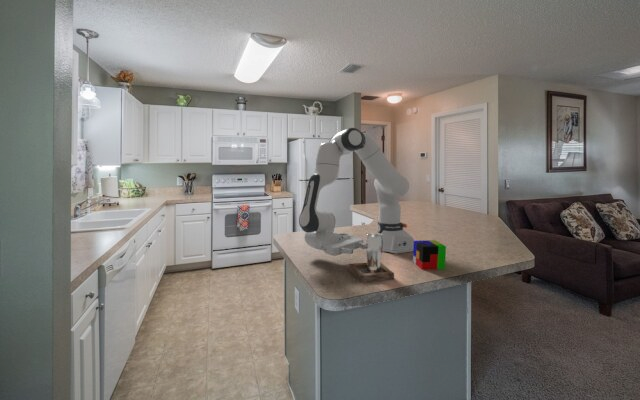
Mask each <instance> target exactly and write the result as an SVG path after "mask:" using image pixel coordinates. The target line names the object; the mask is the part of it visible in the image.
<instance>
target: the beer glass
mask: <svg viewBox="0 0 640 400" xmlns="http://www.w3.org/2000/svg"><path fill="white" fill-rule="evenodd" d="M365 245H366V249H365V254H366V255H365V257H366V263H367V267H366V272H368V273H378V272H381V268H380V262H381V260H382V255H383V252H384V251H383V235H380V234H378V233H367V234H366V235H365Z"/></svg>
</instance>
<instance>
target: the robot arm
mask: <svg viewBox="0 0 640 400" xmlns="http://www.w3.org/2000/svg"><path fill="white" fill-rule="evenodd" d="M353 152H354V153H355V154H356V155H357V156H358V158H359V159H360V161H361V162H362V164H363V165H364V167H365V168H366V170H367V172H368V173H369V174H370V175H372V176H373V177H374V178H375V179H374V181H373V185H374V186H373V187H374V188H375V191H376V197H377V198H376V199H377V203H378V221H377V225H376V227H377V228H376V229H377V234H380V235H383V251H382V252H384V253H392V254H403V253H408V252H409V253H410V252H413V248H414V241H415V239H414V237H413V236H412V235H411V234H410V233H408V231H406V230H405V229H407V227H408V224H407V223H403V222H401V213H402V208H401V204H400V203H399V199H398V197H402V196H405V195H406V194H407V193H408V191H409V189H410V182H409V180H408V179H407V178H406V177H405V176H404V175H402V174H401V173H400V171H399V170H398V169H397V168H396V167H395V166H394V165H393V164H392V163H391V162H390V161H389V159H388V158H387V157H386V155H385V153H384V152H383V150H382V149H381V147H380V145H379V144H378V142H377V141H376V140H375V139H374V138H373V136H372V135H370V134H369V133H368V132H362V131H360V130H359V129H358V128H356V127H348V128H346V129H343V130H340V131H339V132H337V133H336V134H334V135H333V136H332V137H330V139H329V140H328V141H325V142H323V143H321V144H320V145H319V147H318V150H317V154H316V160H315V161H316V162H315V168H314V169H315V170H314V172H313V174H312V175H311V176H310V178H309V179H308V182H307V187H306V192H305V194H304V195H305V197H304V200H303V206H302V209H301V212H300V214H299V217H298V222H299V223H298V224H299V226H300V228H301V229H302V231H304V241H305V243H306V244H307V245H308V246H309V247H310V248H314V249H316V250H319V251H323V252H324V253H325V254H327V255H329V256H333V257H336V256H339V255H342V254H343V255H345V254H348V255H353V254H354V251H355V250H357V249H361V250H366V243H365V244H364V239H363V238H361V237H358V236H355V235H349V233H337V232H334V231H335V227H336V217H335V215H334V213H333V212H331V211H327V210H317V205H318V201H319V196H320V192H321V190H322V189H323V188H325V187H326V186H330V185H332V184H333V183H335V182H336V181H337V179H338V178H339V174H340V160H341V156H343V155H349V154H351V153H353ZM404 228H405V229H404Z"/></svg>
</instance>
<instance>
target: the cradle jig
mask: <svg viewBox="0 0 640 400" xmlns="http://www.w3.org/2000/svg"><path fill="white" fill-rule="evenodd" d="M366 267H367V262H357V263H354V262H353V263H348V270H349V272H350V273H351V274H352V275H353V276H354V277H355V279H356V280H357V281H358V282H359V283H362V282H363V283H364V282H377V281H378V282H379V281H387V280H388V281H391V280H394V279H395V272H393V271H392V270H391V269H390V268H388V267H387V266H385V265H384V264H383V263H382V262H381V261H380V268H381V272H378V273H368V272H366Z"/></svg>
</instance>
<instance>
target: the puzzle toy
mask: <svg viewBox="0 0 640 400" xmlns="http://www.w3.org/2000/svg"><path fill="white" fill-rule="evenodd" d="M446 251H447V246H446V245H444V244H443V243H441V242H439V241H438V240H435V239H433V240H427V239H426V240H414V248H413V251H412V252H413V253H412V263H413V262H414V264H415V266H417V267H418V268H419V269H420V270H422V271H424V270H425V271H426V270H428V269H429V270H445V268H446V254H447V253H446Z"/></svg>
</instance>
